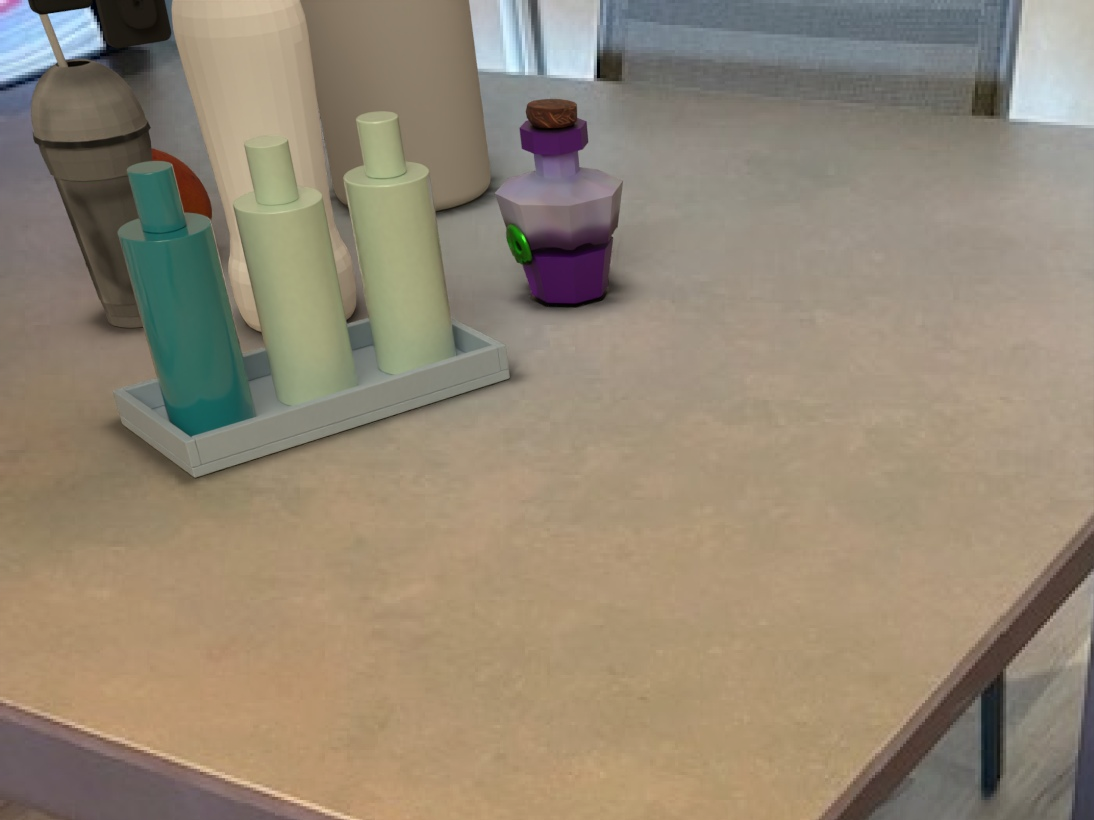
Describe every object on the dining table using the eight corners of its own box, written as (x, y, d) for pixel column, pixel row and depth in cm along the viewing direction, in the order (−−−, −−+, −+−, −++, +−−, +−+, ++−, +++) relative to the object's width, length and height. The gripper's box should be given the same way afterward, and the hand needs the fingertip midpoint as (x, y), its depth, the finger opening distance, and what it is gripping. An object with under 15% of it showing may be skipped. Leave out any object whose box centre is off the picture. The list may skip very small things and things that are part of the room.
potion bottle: (482, 303, 113) (455, 109, 104) (557, 264, 118) (537, 78, 110) (583, 324, 109) (564, 125, 101) (656, 283, 114) (643, 92, 106)
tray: (194, 478, 93) (185, 442, 91) (121, 424, 99) (111, 389, 97) (510, 378, 102) (506, 344, 101) (426, 335, 108) (421, 302, 107)
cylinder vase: (479, 163, 137) (432, -205, 121) (504, 206, 128) (456, -185, 112) (329, 180, 135) (259, -193, 118) (343, 225, 126) (270, -172, 109)
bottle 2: (299, 414, 98) (244, 159, 88) (261, 390, 100) (204, 141, 91) (373, 392, 100) (327, 140, 90) (334, 369, 103) (285, 123, 93)
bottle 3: (402, 383, 101) (359, 133, 91) (362, 360, 104) (317, 116, 94) (472, 362, 103) (437, 116, 94) (430, 340, 106) (393, 100, 97)
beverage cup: (195, 328, 111) (110, -16, 97) (84, 340, 109) (-19, -5, 96) (196, 292, 116) (114, -38, 102) (89, 303, 115) (-8, -29, 101)
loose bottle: (193, 448, 94) (123, 187, 85) (156, 422, 97) (86, 167, 88) (271, 424, 97) (212, 166, 87) (234, 399, 100) (173, 148, 90)
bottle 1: (384, 305, 113) (290, -239, 93) (310, 346, 107) (192, -222, 87) (292, 289, 116) (181, -242, 95) (215, 328, 110) (80, -225, 90)
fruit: (191, 283, 117) (161, 161, 112) (78, 278, 119) (43, 158, 113) (243, 243, 124) (217, 126, 118) (136, 239, 125) (105, 123, 120)
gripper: (-156, -421, 75) (-34, 9, 86) (-21, -415, 65) (97, 70, 76) (6, -424, 79) (103, -11, 90) (157, -419, 68) (245, 45, 80)
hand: (100, 26), depth 83 cm, fingers open, 9 cm apart
